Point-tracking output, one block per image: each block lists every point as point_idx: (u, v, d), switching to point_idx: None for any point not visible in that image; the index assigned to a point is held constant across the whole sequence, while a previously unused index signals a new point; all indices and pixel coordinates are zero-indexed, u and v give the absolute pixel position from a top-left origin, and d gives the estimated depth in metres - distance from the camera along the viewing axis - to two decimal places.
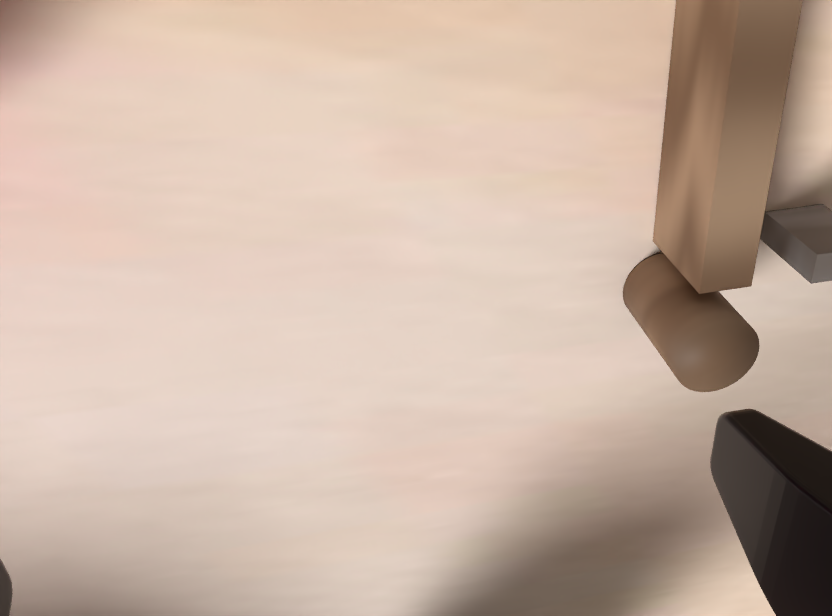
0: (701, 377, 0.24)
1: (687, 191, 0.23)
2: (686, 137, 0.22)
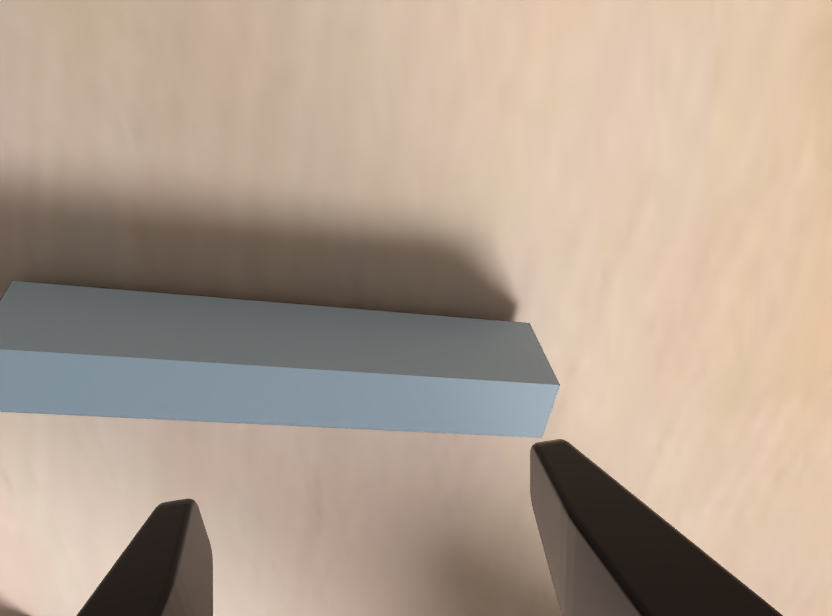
0: None
1: None
2: None
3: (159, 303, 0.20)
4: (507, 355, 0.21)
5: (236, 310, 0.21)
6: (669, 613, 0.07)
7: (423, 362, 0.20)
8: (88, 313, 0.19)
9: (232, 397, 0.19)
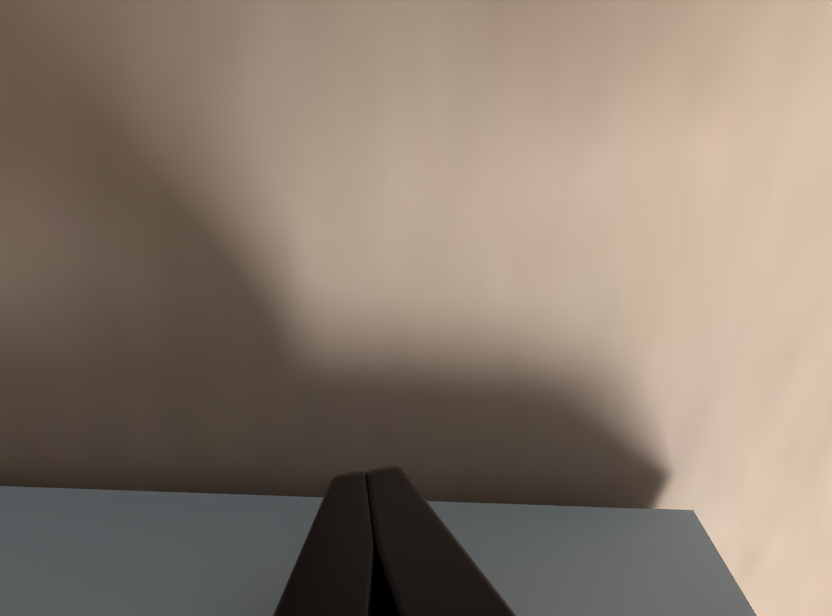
0: None
1: None
2: None
3: None
4: (676, 603, 0.11)
5: (143, 522, 0.10)
6: None
7: None
8: None
9: None
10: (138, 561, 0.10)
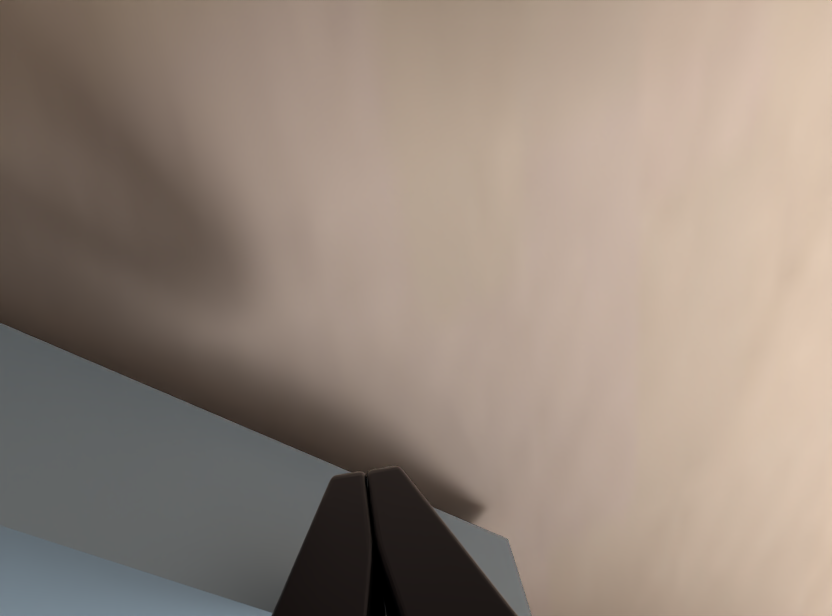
0: None
1: None
2: None
3: None
4: None
5: None
6: None
7: None
8: None
9: None
10: None
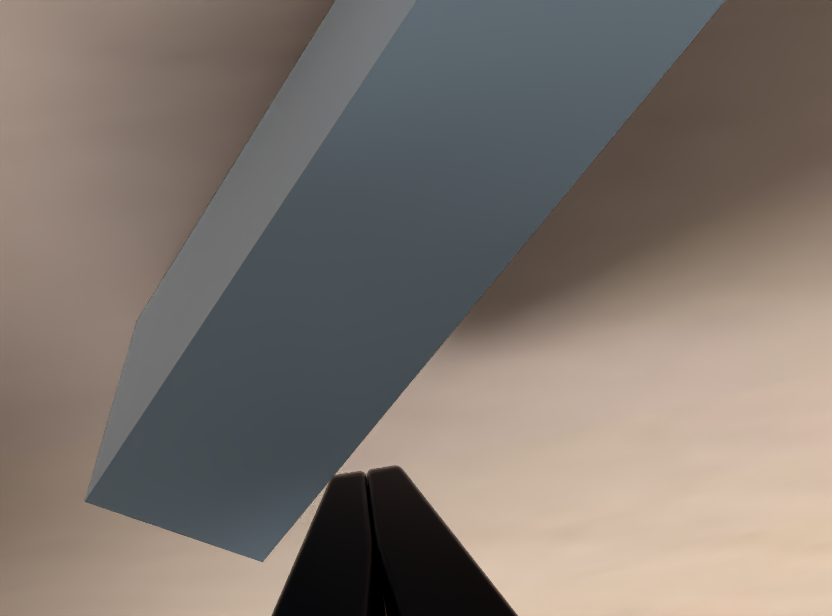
0: None
1: None
2: None
3: None
4: None
5: None
6: None
7: None
8: None
9: None
10: None
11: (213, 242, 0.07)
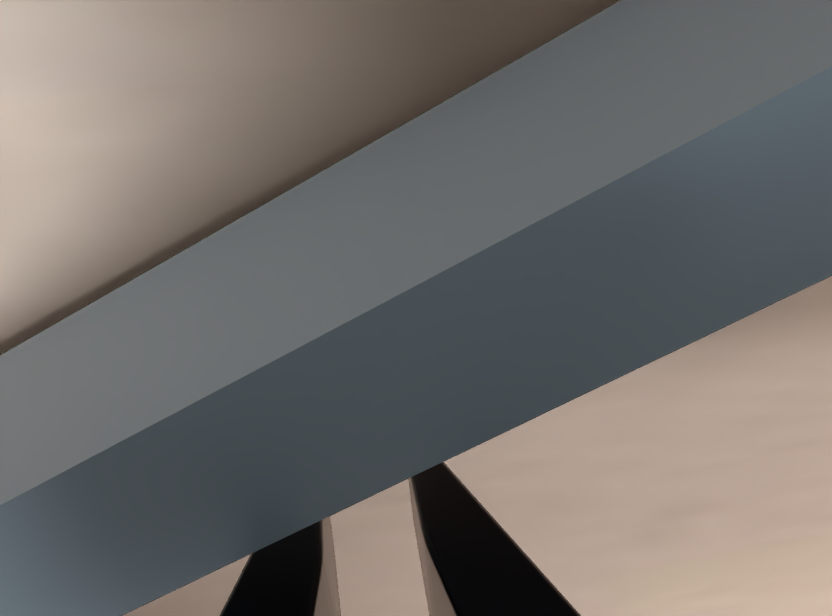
0: None
1: None
2: None
3: None
4: None
5: None
6: None
7: None
8: None
9: (590, 289, 0.06)
10: None
11: None
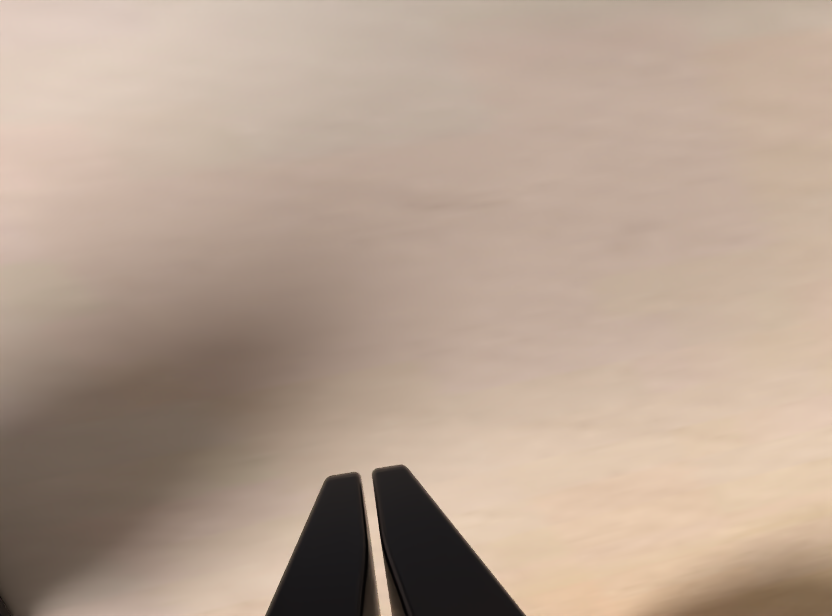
0: None
1: None
2: None
3: None
4: None
5: None
6: None
7: None
8: None
9: None
10: None
11: None
